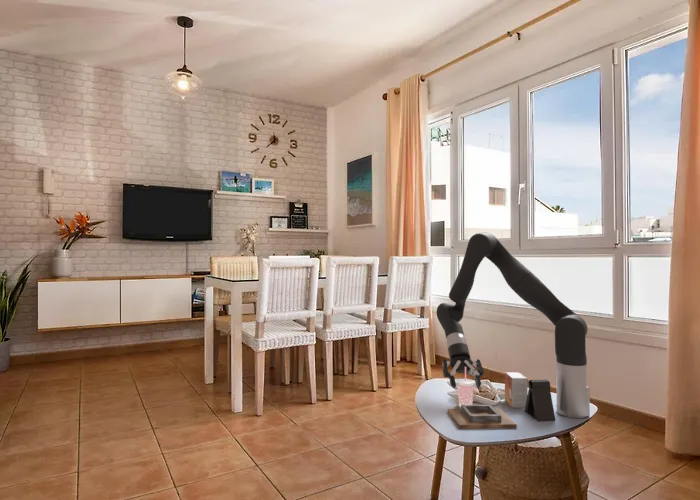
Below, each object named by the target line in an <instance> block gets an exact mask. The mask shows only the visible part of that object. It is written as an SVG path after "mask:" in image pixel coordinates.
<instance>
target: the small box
mask: <svg viewBox="0 0 700 500" xmlns="http://www.w3.org/2000/svg"><path fill="white" fill-rule="evenodd" d="M528 390H529V379H528V377H526V376H524V375H523V374H522V373H520V372H512V371H511V372H510V371H509V372H508V371H507V372H506V371H504V401H505V402H506V403H508V404H509V406H510V407H511V408H515V409H516V408H519V409H520V408H521V409H525V406H526V400H527V395H528Z"/></svg>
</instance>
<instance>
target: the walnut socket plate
mask: <svg viewBox="0 0 700 500" xmlns="http://www.w3.org/2000/svg"><path fill="white" fill-rule="evenodd" d="M447 414H448V415H449V417H450V418H451V419H452V421H453V422H454V423H455V425H456V427H458V429H459V430H461V429H462V430H463V429H465V430H466V429H469V430H470V429H471V430H473V429H475V430H477V429H478V430H479V429H480V430H481V429H482V430H483V429H517V428H518V427H517V425H518V424H517V423H516V422H515V421H514V420H513V419H511V418H510V417H509V416H508V415H507V414H506V413H505V412H504V411H503V410H502V409H501V408H494V406H492V405H491V404H472V405H461V407H460V408H447Z"/></svg>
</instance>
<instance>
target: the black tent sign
mask: <svg viewBox="0 0 700 500" xmlns="http://www.w3.org/2000/svg"><path fill="white" fill-rule="evenodd" d="M554 409H555V408H554V405H553V398H552V393H551V382H550V380H548V379H529V380H528V393H527V400H526V406H525V408H524V412H525V413H526V414H527V415H529V416H530V417H531V418H532V419H534V420H535V421H536V422H553V421H554V422H555V421H556V416H555V410H554Z"/></svg>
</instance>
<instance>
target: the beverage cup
mask: <svg viewBox="0 0 700 500" xmlns="http://www.w3.org/2000/svg"><path fill="white" fill-rule="evenodd" d="M456 385H457V393H458V394H457V395H458V406H459V408H461V405H473V401H474V400H473V399H474V386H475V380H473V379H470V378H467V373H466V367H465V373H464V378H458V379H456Z"/></svg>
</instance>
